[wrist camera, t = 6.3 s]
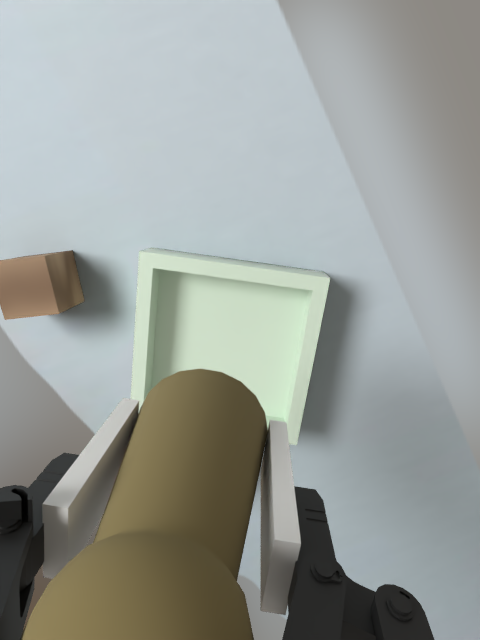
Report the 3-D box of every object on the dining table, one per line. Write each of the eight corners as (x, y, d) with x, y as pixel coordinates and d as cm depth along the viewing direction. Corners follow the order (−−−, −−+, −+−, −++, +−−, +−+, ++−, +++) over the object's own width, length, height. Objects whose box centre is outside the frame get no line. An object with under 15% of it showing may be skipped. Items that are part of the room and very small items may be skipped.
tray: (151, 247, 28) (139, 251, 25) (323, 271, 28) (330, 278, 25) (141, 401, 32) (129, 420, 29) (293, 424, 32) (296, 445, 29)
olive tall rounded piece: (244, 352, 16) (211, 610, 6) (283, 467, 18) (314, 842, 7) (118, 388, 17) (-115, 672, 7) (165, 495, 19) (37, 868, 8)
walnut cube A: (23, 256, 29) (-13, 262, 25) (73, 250, 29) (44, 255, 25) (37, 306, 30) (4, 319, 26) (85, 301, 30) (59, 313, 26)
